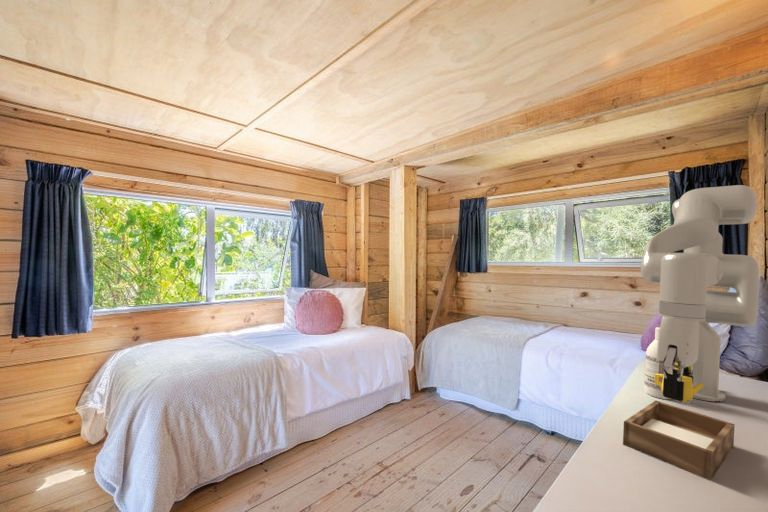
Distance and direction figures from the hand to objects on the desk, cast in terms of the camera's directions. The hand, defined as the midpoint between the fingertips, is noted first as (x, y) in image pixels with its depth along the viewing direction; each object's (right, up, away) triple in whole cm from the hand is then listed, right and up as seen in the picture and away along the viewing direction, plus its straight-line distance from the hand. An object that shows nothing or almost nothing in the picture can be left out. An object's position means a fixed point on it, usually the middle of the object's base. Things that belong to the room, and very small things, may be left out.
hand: (677, 394), depth 73 cm
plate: (0, -12, 0) cm, 12 cm away
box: (+1, -12, +1) cm, 12 cm away
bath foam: (+19, -12, +29) cm, 37 cm away
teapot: (0, -1, 0) cm, 1 cm away
